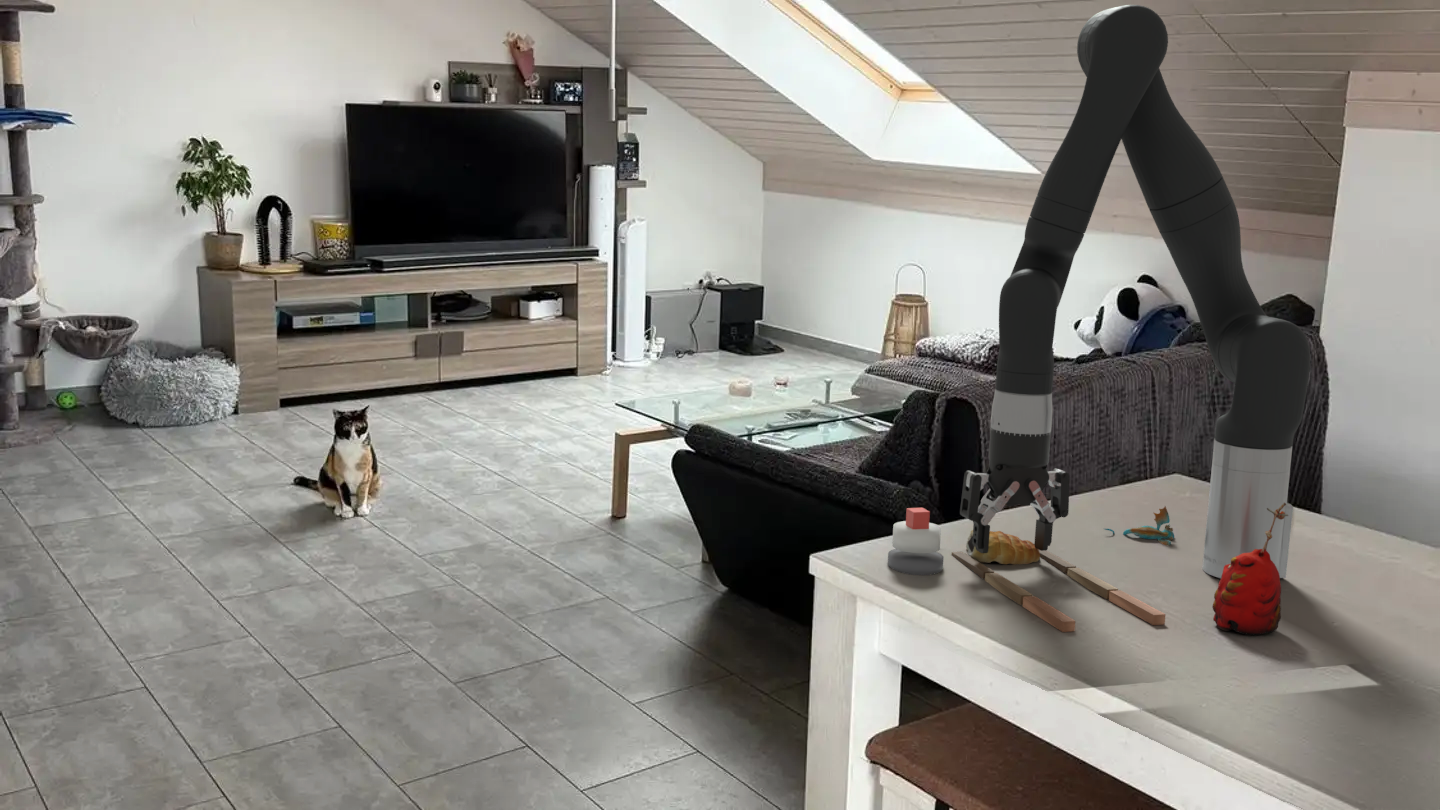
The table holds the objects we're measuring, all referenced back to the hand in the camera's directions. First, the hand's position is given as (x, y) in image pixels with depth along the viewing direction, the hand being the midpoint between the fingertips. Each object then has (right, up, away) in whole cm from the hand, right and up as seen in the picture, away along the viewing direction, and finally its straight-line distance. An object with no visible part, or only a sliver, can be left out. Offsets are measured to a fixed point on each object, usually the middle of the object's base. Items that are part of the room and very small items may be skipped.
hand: (1011, 550), depth 167 cm
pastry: (+1, -3, +1) cm, 4 cm away
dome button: (-13, +1, -2) cm, 13 cm away
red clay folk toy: (+22, -7, -20) cm, 31 cm away
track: (+3, -4, -8) cm, 10 cm away
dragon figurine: (+18, 0, +16) cm, 24 cm away
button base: (-13, -2, -1) cm, 13 cm away
